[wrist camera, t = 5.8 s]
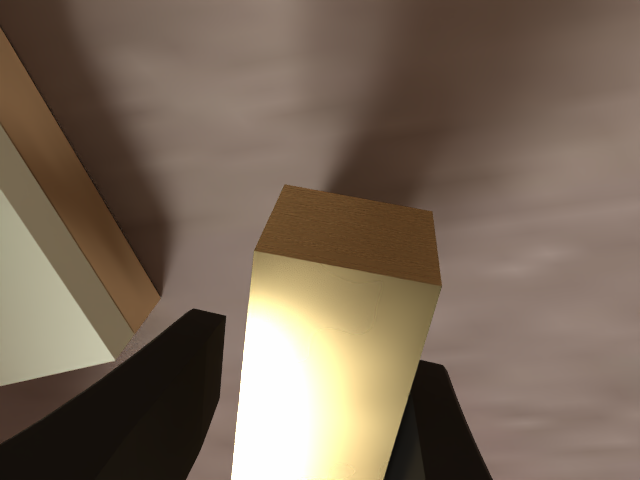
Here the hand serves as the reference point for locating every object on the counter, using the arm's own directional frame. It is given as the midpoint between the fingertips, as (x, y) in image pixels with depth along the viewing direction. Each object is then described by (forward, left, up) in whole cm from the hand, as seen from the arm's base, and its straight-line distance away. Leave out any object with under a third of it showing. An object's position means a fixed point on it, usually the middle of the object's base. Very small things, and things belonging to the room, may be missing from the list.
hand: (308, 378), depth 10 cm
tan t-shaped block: (0, 0, -5) cm, 5 cm away
